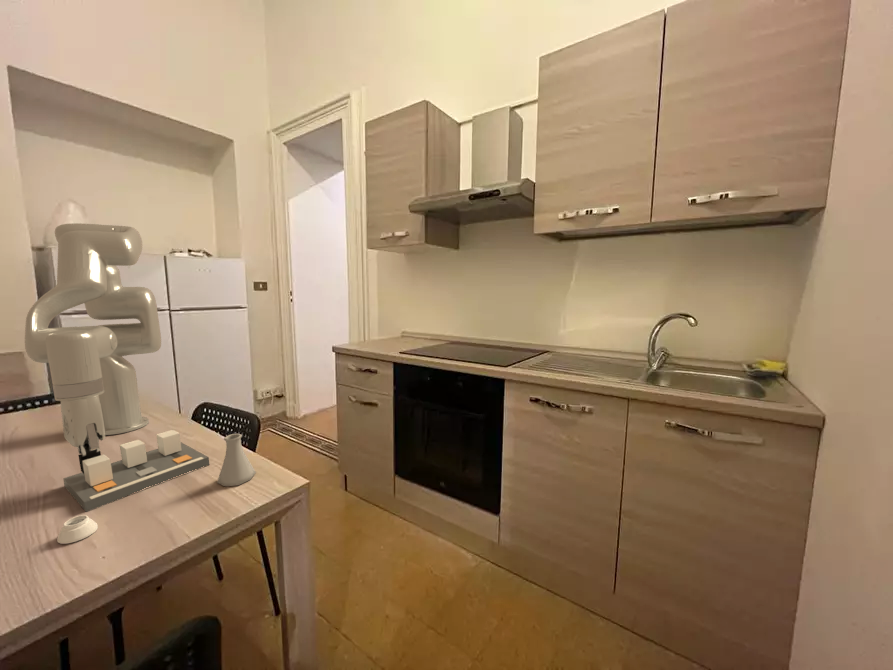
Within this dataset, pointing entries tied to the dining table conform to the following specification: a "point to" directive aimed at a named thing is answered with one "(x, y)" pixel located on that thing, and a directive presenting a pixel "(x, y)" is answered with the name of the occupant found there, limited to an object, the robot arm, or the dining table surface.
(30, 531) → the dining table surface
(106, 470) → the tab
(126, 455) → the tab
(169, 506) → the dining table surface
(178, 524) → the dining table surface
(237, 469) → the flask
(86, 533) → the upside-down white bowl
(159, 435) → the cream cube
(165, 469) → the switch panel
